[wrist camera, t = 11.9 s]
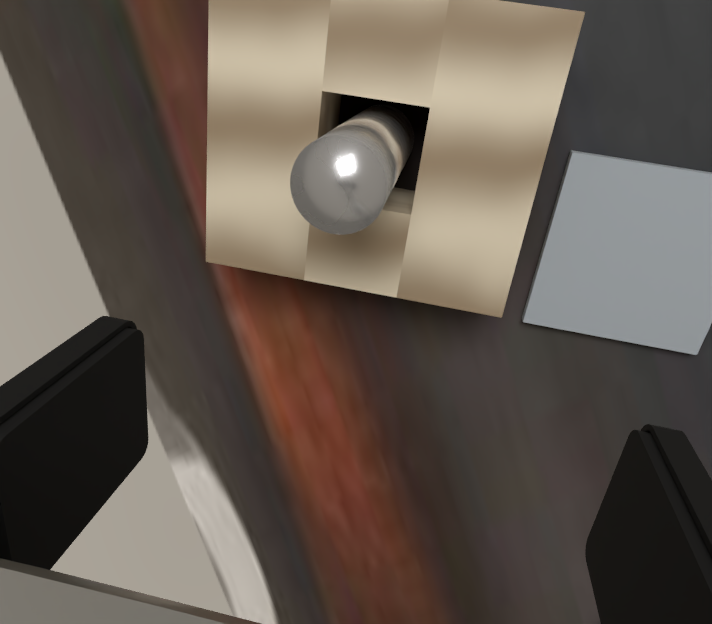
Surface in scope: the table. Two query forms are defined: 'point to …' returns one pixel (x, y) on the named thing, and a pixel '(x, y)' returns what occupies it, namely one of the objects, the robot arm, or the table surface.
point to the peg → (352, 170)
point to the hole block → (396, 84)
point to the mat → (627, 254)
